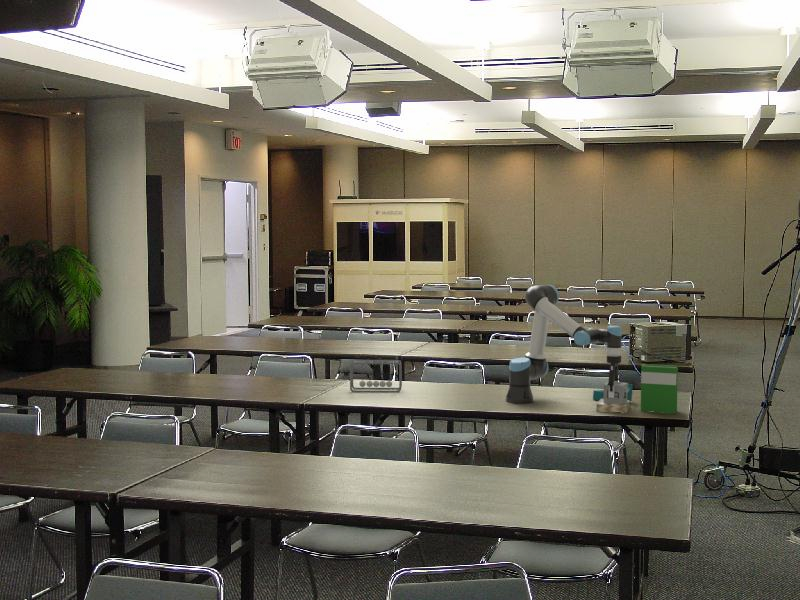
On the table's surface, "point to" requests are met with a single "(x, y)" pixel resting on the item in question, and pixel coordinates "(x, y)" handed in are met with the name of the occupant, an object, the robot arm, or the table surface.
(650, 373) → the green cereal box
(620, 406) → the plinth
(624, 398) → the icon cube
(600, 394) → the teal tape dispenser
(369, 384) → the newton's cradle
